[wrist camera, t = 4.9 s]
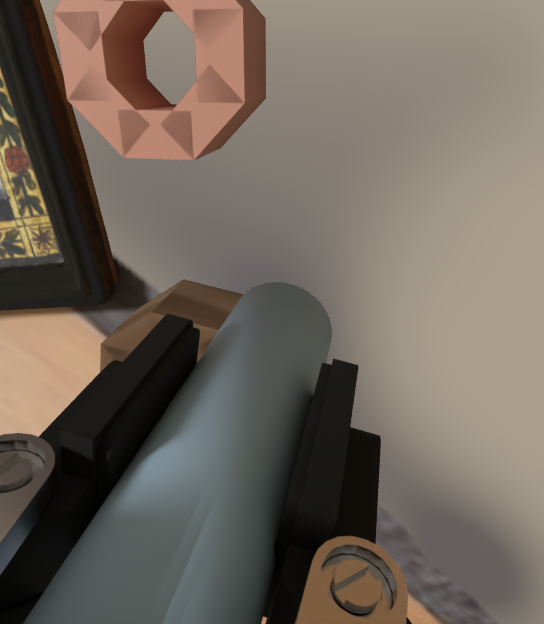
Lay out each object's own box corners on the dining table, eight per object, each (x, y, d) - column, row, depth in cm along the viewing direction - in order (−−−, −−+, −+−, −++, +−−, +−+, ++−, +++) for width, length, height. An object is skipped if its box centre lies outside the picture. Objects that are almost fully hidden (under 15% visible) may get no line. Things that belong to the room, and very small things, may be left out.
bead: (291, 306, 28) (276, 345, 24) (264, 430, 33) (247, 479, 29) (140, 268, 29) (101, 299, 25) (133, 393, 34) (99, 436, 30)
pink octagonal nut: (265, -45, 21) (241, -68, 18) (265, 149, 25) (245, 162, 21) (95, -39, 23) (41, -58, 19) (117, 144, 26) (76, 155, 23)
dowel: (342, 297, 13) (92, 1321, 2) (319, 383, 14) (95, 1279, 4) (239, 271, 13) (-367, 1070, 3) (226, 357, 15) (-215, 1113, 4)
